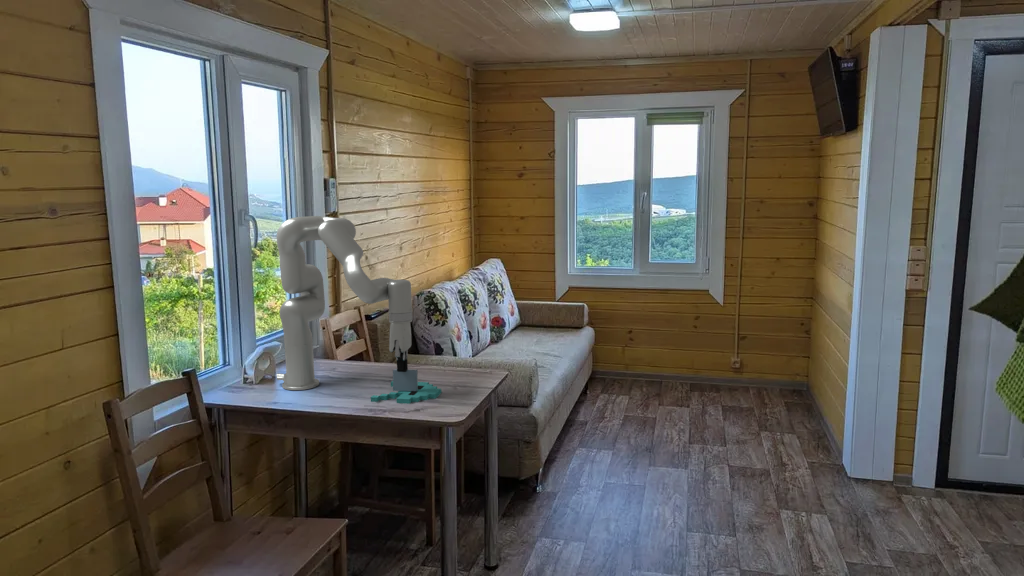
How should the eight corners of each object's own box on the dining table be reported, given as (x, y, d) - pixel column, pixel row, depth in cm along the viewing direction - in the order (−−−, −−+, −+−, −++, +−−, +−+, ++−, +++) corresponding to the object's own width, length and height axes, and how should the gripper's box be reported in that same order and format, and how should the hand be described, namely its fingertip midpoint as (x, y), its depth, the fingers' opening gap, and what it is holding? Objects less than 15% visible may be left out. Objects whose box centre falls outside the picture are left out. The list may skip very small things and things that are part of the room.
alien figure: (370, 403, 228) (429, 406, 224) (370, 397, 227) (429, 400, 223) (393, 386, 247) (447, 389, 243) (392, 380, 247) (447, 383, 243)
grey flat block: (416, 391, 233) (392, 390, 233) (417, 390, 235) (394, 389, 235) (416, 370, 233) (392, 370, 233) (417, 369, 235) (394, 369, 235)
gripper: (396, 312, 237) (398, 365, 240) (382, 321, 223) (384, 376, 225) (417, 313, 236) (419, 365, 239) (404, 321, 222) (406, 377, 224)
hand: (402, 371), depth 232 cm, fingers closed
